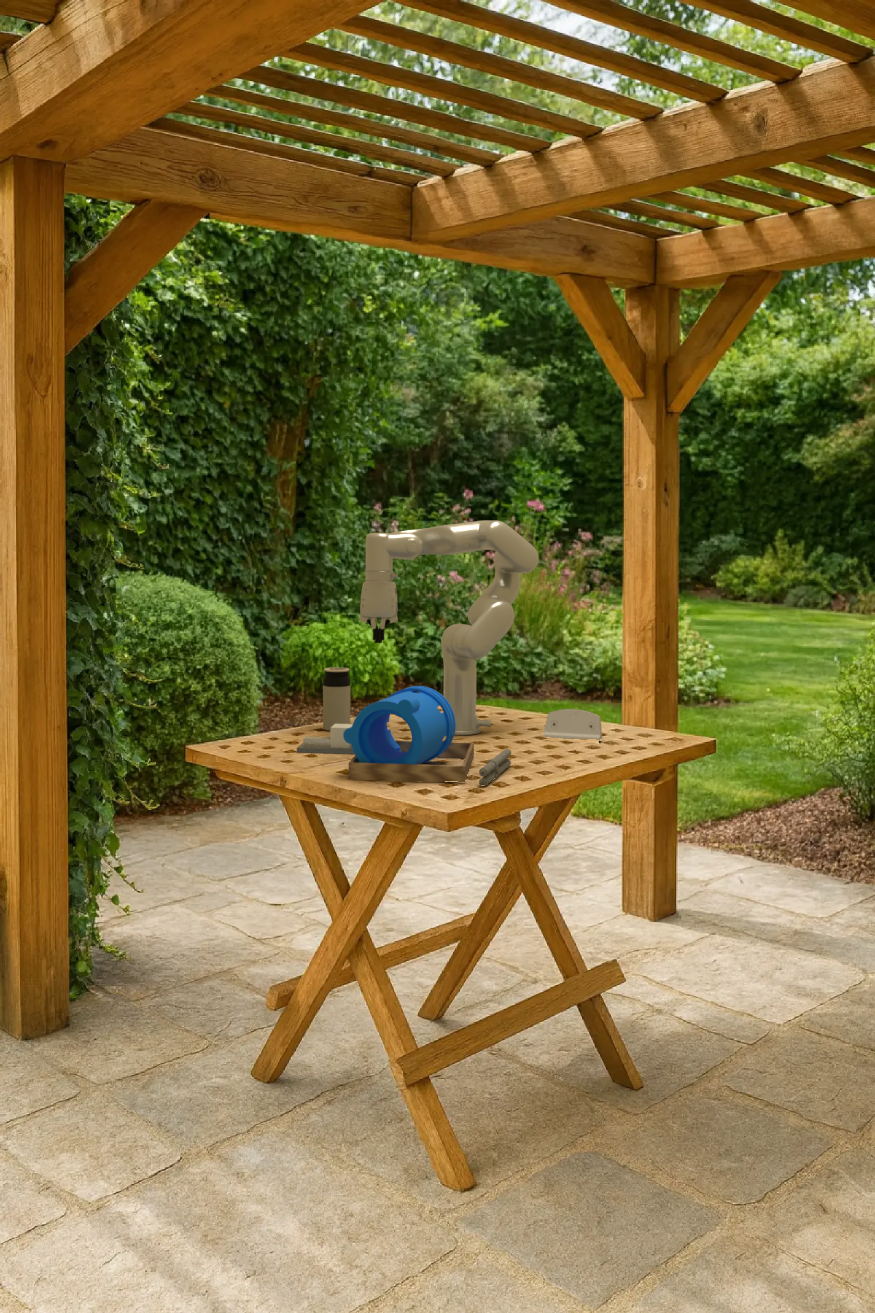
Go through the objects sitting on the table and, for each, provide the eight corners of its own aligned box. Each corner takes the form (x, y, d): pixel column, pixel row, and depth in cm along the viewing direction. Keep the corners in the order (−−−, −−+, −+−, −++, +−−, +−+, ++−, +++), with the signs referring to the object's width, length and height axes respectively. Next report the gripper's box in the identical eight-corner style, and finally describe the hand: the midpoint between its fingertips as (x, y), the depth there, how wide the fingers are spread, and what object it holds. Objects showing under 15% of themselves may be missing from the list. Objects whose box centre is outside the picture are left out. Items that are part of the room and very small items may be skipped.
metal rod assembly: (501, 767, 304) (501, 747, 303) (512, 767, 303) (512, 748, 303) (476, 788, 279) (477, 766, 279) (488, 789, 279) (488, 767, 278)
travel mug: (355, 729, 357) (355, 668, 355) (340, 732, 350) (340, 671, 348) (332, 726, 361) (333, 666, 359) (317, 730, 354) (317, 669, 352)
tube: (428, 779, 310) (368, 737, 314) (472, 709, 305) (410, 667, 309) (396, 799, 286) (331, 753, 290) (442, 724, 281) (375, 678, 285)
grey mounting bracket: (541, 740, 341) (544, 706, 343) (543, 743, 345) (546, 709, 348) (600, 744, 337) (602, 709, 339) (602, 747, 341) (604, 712, 343)
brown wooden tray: (473, 757, 314) (473, 742, 314) (465, 783, 283) (465, 766, 283) (368, 754, 317) (368, 739, 317) (348, 779, 286) (348, 763, 285)
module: (353, 744, 326) (353, 724, 325) (349, 748, 319) (349, 728, 319) (334, 743, 326) (334, 723, 326) (330, 747, 320) (330, 727, 319)
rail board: (384, 748, 327) (384, 736, 326) (379, 754, 317) (379, 742, 317) (304, 745, 329) (304, 734, 328) (296, 752, 319) (296, 740, 319)
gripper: (407, 577, 340) (406, 642, 342) (354, 576, 342) (354, 641, 344) (403, 578, 333) (403, 644, 335) (350, 577, 334) (350, 643, 336)
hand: (378, 642), depth 339 cm, fingers closed
